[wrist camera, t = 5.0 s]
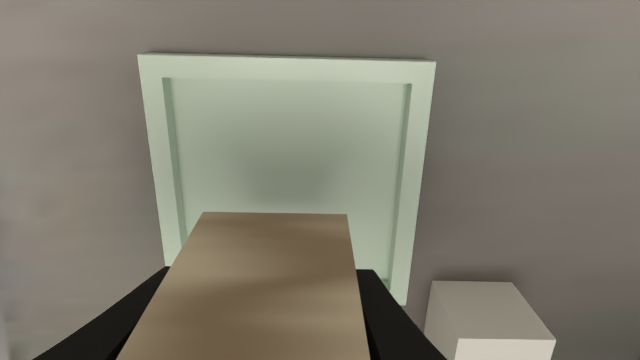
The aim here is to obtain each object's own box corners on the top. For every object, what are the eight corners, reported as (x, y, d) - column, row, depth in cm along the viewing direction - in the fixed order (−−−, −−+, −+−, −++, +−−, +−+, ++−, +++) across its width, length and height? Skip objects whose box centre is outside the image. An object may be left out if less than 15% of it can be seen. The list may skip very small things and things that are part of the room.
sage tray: (427, 59, 16) (436, 62, 15) (400, 289, 20) (405, 305, 19) (149, 52, 16) (137, 54, 15) (178, 286, 20) (170, 301, 19)
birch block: (346, 213, 11) (378, 407, 6) (340, 327, 13) (360, 568, 7) (203, 211, 11) (89, 405, 6) (214, 325, 13) (132, 569, 7)
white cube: (511, 281, 20) (556, 339, 16) (495, 344, 21) (534, 411, 18) (431, 279, 20) (458, 338, 16) (421, 342, 21) (444, 410, 18)
